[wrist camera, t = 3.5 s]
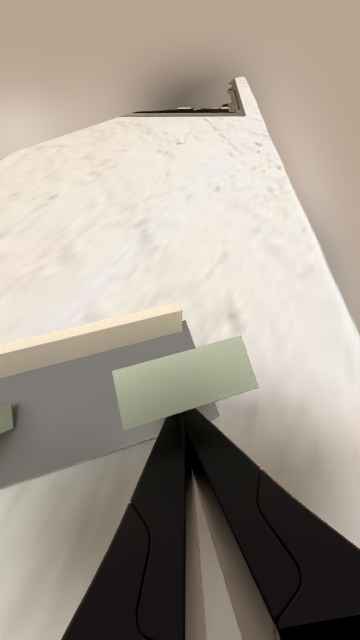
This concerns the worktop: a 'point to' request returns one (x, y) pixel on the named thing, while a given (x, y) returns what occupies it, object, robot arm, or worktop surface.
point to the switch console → (80, 390)
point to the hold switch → (6, 418)
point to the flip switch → (182, 381)
